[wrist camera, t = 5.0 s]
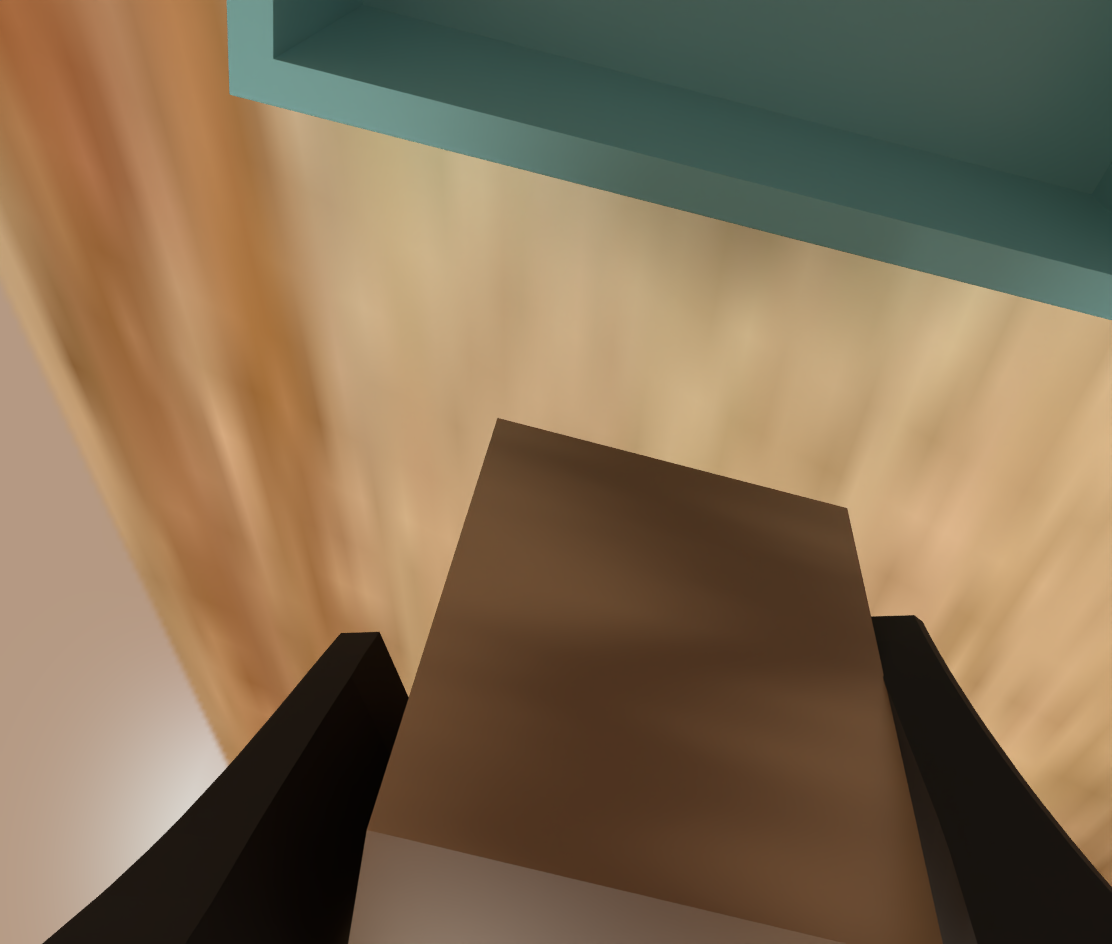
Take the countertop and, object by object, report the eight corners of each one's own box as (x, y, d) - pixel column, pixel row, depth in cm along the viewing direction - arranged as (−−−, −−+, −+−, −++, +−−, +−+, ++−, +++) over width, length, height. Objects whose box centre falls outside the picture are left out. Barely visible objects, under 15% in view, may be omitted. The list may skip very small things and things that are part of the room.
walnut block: (847, 508, 12) (948, 966, 7) (724, 715, 15) (739, 1131, 10) (497, 417, 12) (367, 830, 7) (446, 646, 15) (333, 1038, 10)
